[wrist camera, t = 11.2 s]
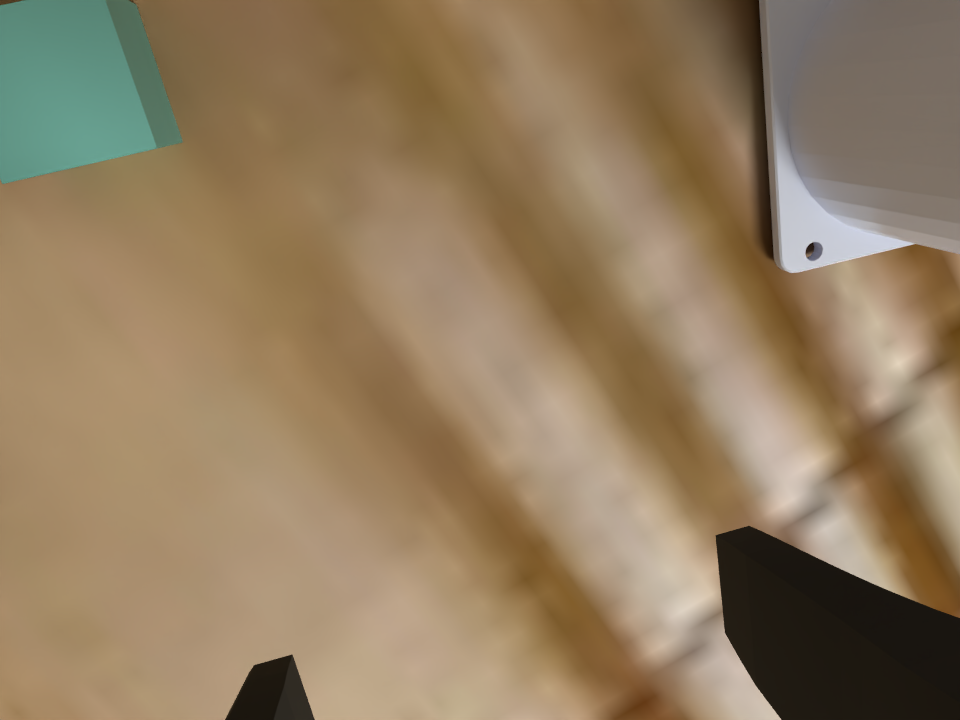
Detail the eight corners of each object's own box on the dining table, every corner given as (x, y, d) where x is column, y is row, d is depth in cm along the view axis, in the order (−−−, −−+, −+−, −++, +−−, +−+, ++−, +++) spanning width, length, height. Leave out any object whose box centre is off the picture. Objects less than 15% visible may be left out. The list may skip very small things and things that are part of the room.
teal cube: (136, 5, 17) (99, -15, 14) (183, 142, 18) (157, 148, 15) (-2, 34, 17) (-68, 19, 14) (53, 171, 18) (2, 183, 15)
